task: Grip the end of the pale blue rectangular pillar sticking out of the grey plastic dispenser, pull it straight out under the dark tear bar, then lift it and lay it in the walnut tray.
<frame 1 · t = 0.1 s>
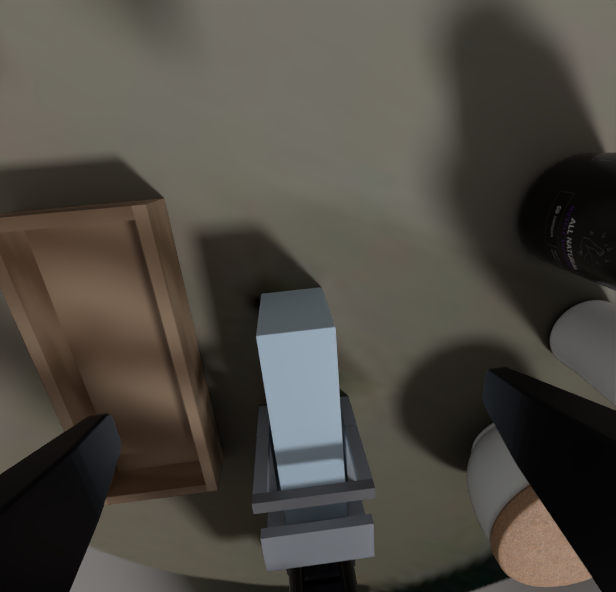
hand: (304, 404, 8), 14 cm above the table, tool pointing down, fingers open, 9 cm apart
lidded jar: (504, 443, 30), on the table
pale blue rectangular pillar: (301, 377, 25), resting in dispenser
white cylinder: (577, 328, 26), on the table
supplement bottle: (563, 210, 22), on the table
dispenser: (307, 436, 27), on the table
tray: (136, 354, 23), on the table
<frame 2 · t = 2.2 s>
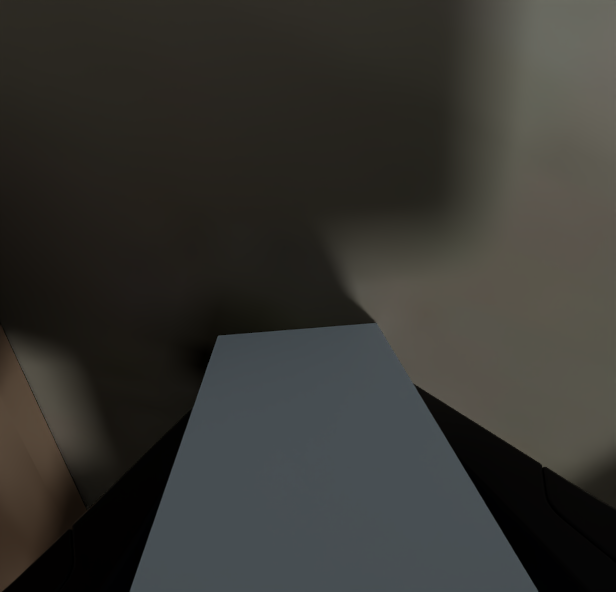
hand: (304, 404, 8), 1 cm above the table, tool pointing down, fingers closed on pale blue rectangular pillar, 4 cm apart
pale blue rectangular pillar: (311, 519, 11), resting in dispenser, touching gripper
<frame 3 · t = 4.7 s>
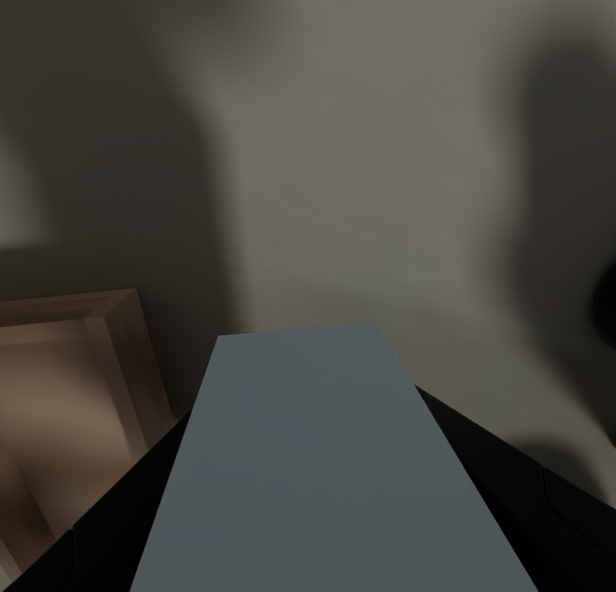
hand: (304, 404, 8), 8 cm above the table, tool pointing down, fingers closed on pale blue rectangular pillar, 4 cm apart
pale blue rectangular pillar: (312, 519, 11), point 7 cm above the table, touching gripper
tray: (106, 468, 19), on the table
when the fingers open (3 cm above the table, at t = 7.3 s): pale blue rectangular pillar drops 2 cm, resting on tray.
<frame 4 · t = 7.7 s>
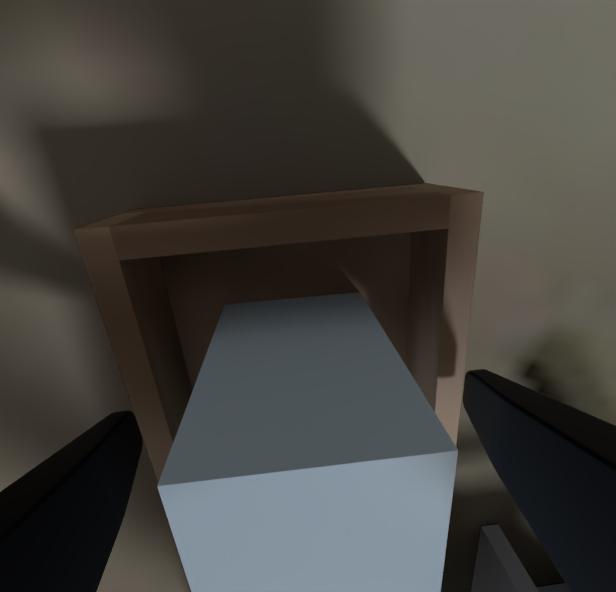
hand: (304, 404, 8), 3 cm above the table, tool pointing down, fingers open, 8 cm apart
pale blue rectangular pillar: (309, 472, 13), point 1 cm above the table, touching tray
dispenser: (538, 563, 17), on the table
tray: (309, 458, 14), on the table
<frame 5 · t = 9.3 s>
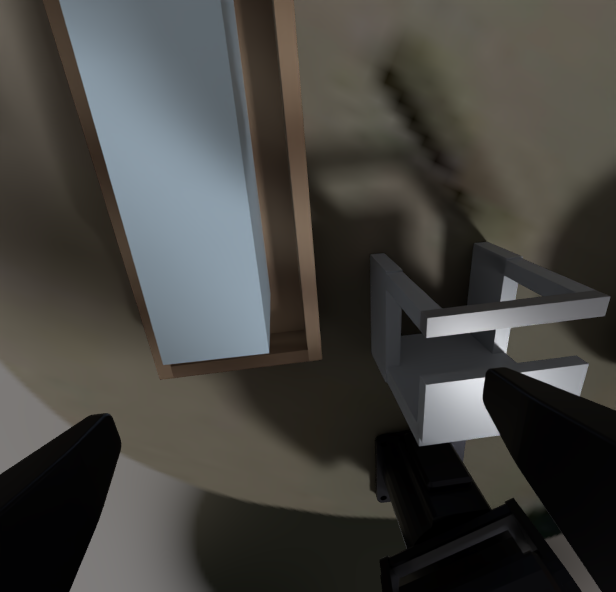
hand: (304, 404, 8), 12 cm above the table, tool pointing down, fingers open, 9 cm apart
pale blue rectangular pillar: (209, 158, 16), point 1 cm above the table, touching tray
dispenser: (426, 304, 21), on the table
tray: (214, 161, 17), on the table
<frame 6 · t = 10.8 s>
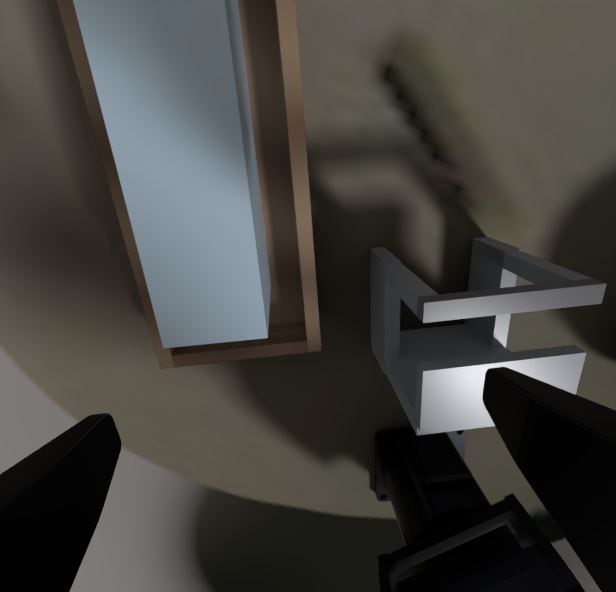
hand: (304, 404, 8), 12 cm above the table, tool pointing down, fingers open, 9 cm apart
pale blue rectangular pillar: (212, 150, 16), point 1 cm above the table, touching tray
dispenser: (425, 298, 21), on the table
tray: (217, 154, 17), on the table
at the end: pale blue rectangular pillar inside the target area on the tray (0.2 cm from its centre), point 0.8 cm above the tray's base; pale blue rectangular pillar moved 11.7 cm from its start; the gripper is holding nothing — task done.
